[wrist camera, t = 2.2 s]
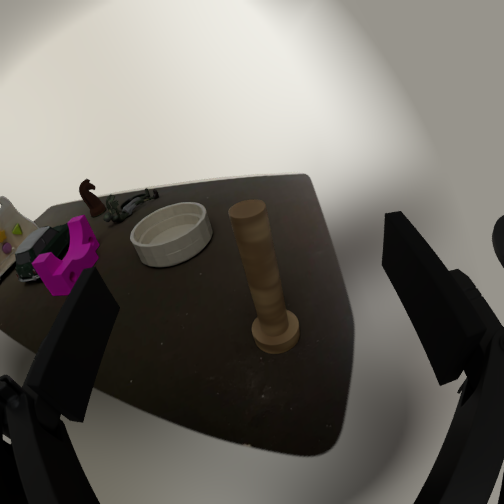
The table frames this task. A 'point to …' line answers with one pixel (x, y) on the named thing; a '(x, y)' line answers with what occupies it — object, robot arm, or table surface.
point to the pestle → (263, 278)
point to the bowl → (172, 234)
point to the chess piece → (91, 199)
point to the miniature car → (39, 249)
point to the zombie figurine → (128, 208)
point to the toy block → (69, 259)
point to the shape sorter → (12, 232)
